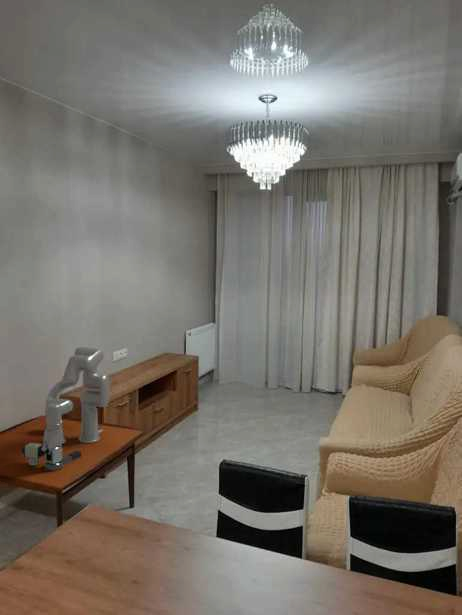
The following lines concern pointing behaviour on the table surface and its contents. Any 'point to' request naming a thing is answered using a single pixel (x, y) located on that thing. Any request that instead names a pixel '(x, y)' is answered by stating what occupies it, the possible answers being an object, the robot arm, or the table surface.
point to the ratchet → (62, 461)
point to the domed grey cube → (55, 455)
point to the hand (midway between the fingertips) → (53, 457)
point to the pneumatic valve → (33, 452)
